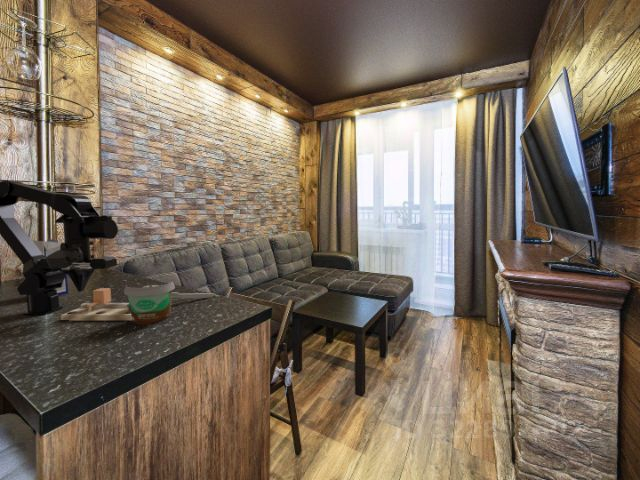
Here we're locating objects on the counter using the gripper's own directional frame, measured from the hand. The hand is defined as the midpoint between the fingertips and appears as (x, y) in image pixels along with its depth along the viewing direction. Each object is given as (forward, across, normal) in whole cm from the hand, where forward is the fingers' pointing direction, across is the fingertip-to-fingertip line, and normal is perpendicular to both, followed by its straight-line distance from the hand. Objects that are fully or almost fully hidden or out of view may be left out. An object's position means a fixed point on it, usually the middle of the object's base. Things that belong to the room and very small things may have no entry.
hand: (80, 291), depth 89 cm
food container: (+6, +24, -8) cm, 26 cm away
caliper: (+7, +27, +10) cm, 30 cm away
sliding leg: (+4, +6, -2) cm, 8 cm away
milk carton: (+7, -25, +18) cm, 31 cm away
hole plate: (+6, +9, -2) cm, 11 cm away
